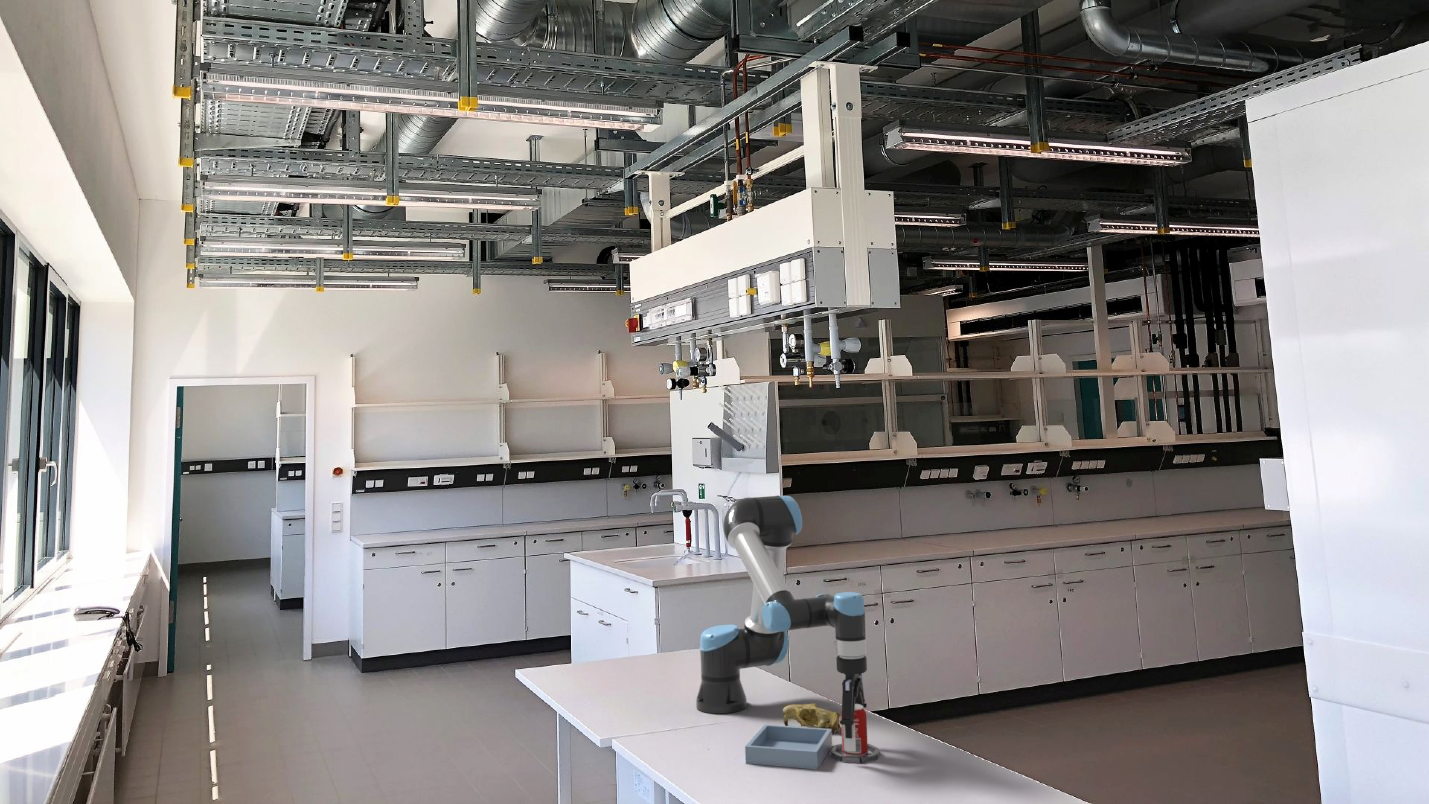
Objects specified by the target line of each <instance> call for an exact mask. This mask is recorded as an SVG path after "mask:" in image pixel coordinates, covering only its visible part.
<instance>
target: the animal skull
mask: <svg viewBox="0 0 1429 804" xmlns="http://www.w3.org/2000/svg"><path fill="white" fill-rule="evenodd" d="M782 713H783V714H784V715H783V724H784V726H789V720H791V719H792V720H794V721H796V722H797V723H798V724H800V727H809V728H823V729H832V735H834V734H835V733H836V732H839V730H840V729H841V724H840V718H841V712H838V711H831V710H829V709H826V708H821V707H820V708H819V707H817V703H808V704H807V703H803V704H788V705H786V706H785V707H783V709H782Z"/></svg>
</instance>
